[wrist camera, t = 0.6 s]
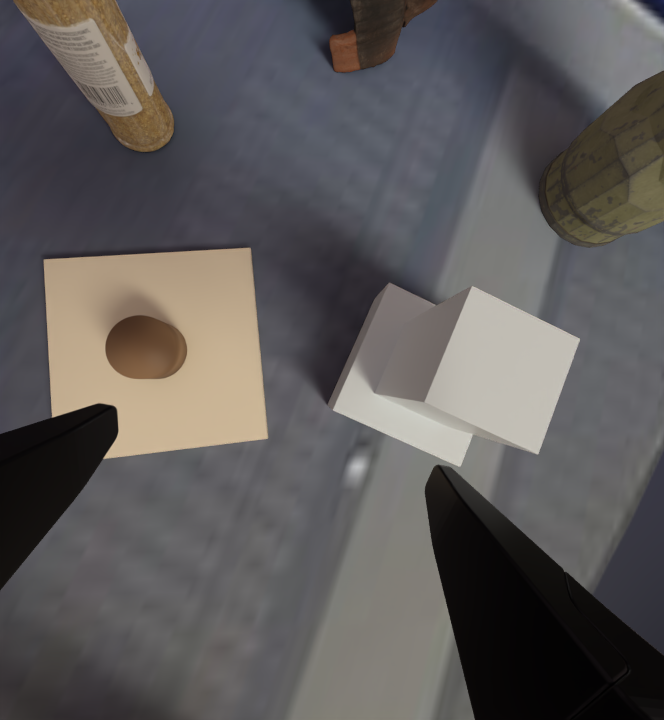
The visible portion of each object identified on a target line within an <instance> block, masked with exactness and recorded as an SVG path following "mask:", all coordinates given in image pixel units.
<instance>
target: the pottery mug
mask: <svg viewBox="0 0 664 720" xmlns="http://www.w3.org/2000/svg"><path fill="white" fill-rule="evenodd" d="M436 2H437V0H350V3H351V6H352V11H353V17H354V30H351V31H349V32H348V33H343V34H339V35H332V36H331V37H330V40H329V45H330V51H331V53H332V61H333V68H334V71H335V72H352V71H355V70H360V69H365V68H368V67H375V66H376V65H379V64H382V63H384V62H386V61H387V60H388V59H389V58H390V57H392V55H393V54H394V53H395V48H396V44H397V41H398V38H399V35H400V32H401V28H402V27H406V25H407V24H408V23H409V21H410V20H411V19H412V18H414V17H415V16H417V15H419V14H421V13H423V12H424V11H425V10H427V9H428V8H430V7H431V6H432V5H434V4H435V3H436Z"/></svg>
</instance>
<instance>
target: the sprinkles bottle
mask: <svg viewBox="0 0 664 720" xmlns="http://www.w3.org/2000/svg"><path fill="white" fill-rule="evenodd" d="M13 1H14V2H15V4H16V6H17V7H18V8H19V10H20V11H21V12H22V14H23V15H24V16H25V18H26V19H27V20H28V22H29V23H30V24H31V26H32V27H33V28H34V30H35V31H36V32H37V33H38V35H39V36H40V37H41V39H42V40H43V41H44V43H45V44H46V45H47V47H48V48H49V49H50V51H51V52H52V53H53V55H54V56H55V57H56V59H57V60H58V61H59V63H60V64H61V65H62V67H63V68H64V69H65V70H66V72H67V73H68V74H69V76H70V77H71V78H72V80H73V81H74V82H75V83H76V85H77V86H78V87H79V89H80V90H81V91H82V93H83V94H84V95H85V97H86V98H87V99H88V100H89V101H90V103H91V104H92V105H93V106H95V108H96V109H97V110H98V111H99V113H100V115H101V116H102V117H103V118H104V120H105V121H106V122H107V123H108V125H109V126H110V127H111V130H112V133H113V134H114V136H115V137H116V138H117V140H118V141H119V142H120V143H121V144H123V145H124V146H125V147H128V148H130V149H132V150H135V151H139V152H150V151H155V150H158V149H160V148H161V147H162V146H164V145H165V144H167V143H168V142H169V141H170V138H171V136H172V135H173V131H174V119H173V115H172V113H171V110H170V108H169V107H168V105H167V104H166V102H164V100H163V98H162V96H161V94H160V92H159V90H158V88H157V86H156V84H155V82H154V80H153V77H152V74H151V71H150V69H149V67H148V65H147V63H146V61H145V59H144V57H143V55H142V53H141V51H140V49H139V47H138V45H137V43H136V41H135V39H134V37H133V35H132V33H131V31H130V29H129V27H128V25H127V23H126V21H125V19H124V17H123V15H122V13H121V11H120V9H119V7H118V5H117V3H116V1H115V0H13Z"/></svg>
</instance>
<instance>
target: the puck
mask: <svg viewBox="0 0 664 720" xmlns="http://www.w3.org/2000/svg"><path fill="white" fill-rule="evenodd" d="M105 352H106V357H107V359H108V362H109V363H110V365H111V366H112V367H113V369H114V370H115V371H117V372H118V373H119V374H121V375H123V376H125V377H128V378H132V379H163V378H167V377H169V376H171V375H173V374H175V373H176V372H177V371H178V370H179V369H180V368H181V367H182V365H183V364H184V362H185V359H186V356H187V344H186V341H185V338H184V337H183V335H182V334H181V332H180V331H179V330H178V329H176V328H175V327H173V326H171V325H169V324H167V323H165V322H162V321H160V320H158V319H155V318H153V317H150V316H144V315H136V316H131V317H127V318H125V319H123V320H121V321H120V322H118V323H117V324H116V325H115V326H114V327H113V328H112V329H111V331H110V332H109V334H108V336H107V339H106V344H105Z"/></svg>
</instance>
